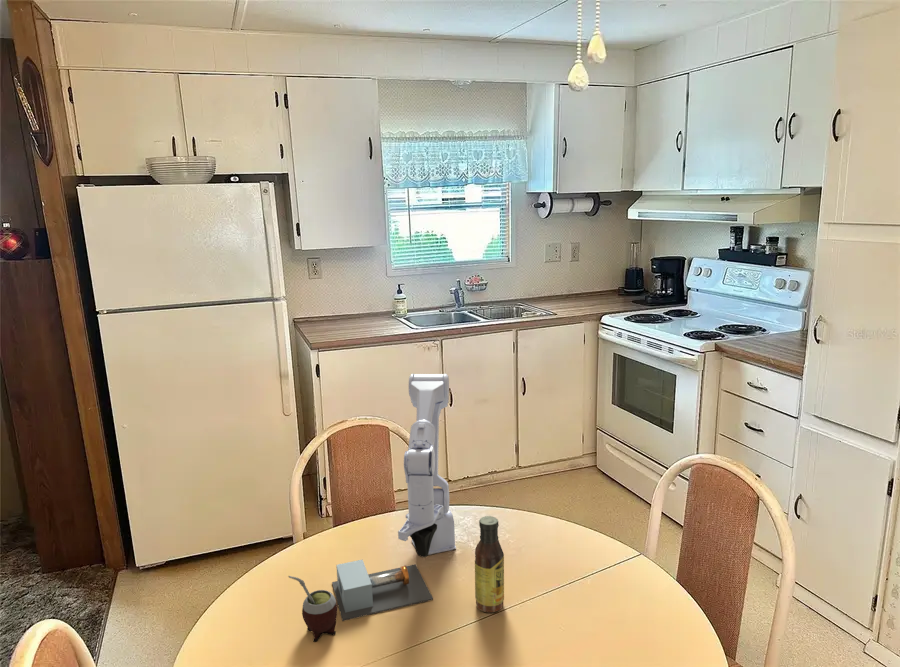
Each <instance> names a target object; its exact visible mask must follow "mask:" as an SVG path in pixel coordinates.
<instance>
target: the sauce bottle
mask: <svg viewBox="0 0 900 667" xmlns="http://www.w3.org/2000/svg"><path fill="white" fill-rule="evenodd" d="M478 524H479V525H478V526H479V529H480V531H479V533H480V535H479V541H478V543H477V544H476V546H475V549H474V550H475V551H474V559H475V560H474V595H475V604H476V607H477V609H479V611H482V612H484V613H490V614H491V613H496V612H498V611H500V610H501V609H502V608H503V607H504V600H505V554H504V551H503V548H502V546H501V543H500V541H499V534H498V533H499V530H498V529H499V526H500V525H499V519H498V518H497V517H495V516H491V515H486V516H482V517H480V519H479V520H478Z"/></svg>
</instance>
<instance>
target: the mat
mask: <svg viewBox="0 0 900 667" xmlns="http://www.w3.org/2000/svg"><path fill="white" fill-rule="evenodd" d="M405 566H406V567H407V570H408V575H409V584H406V585H403V583H402V582H398V583H393V584H389V585H385V586H380V587H376V588H372V597H373V606H372V607H368V608H363V609H359V610H355V611H350V612H346V613H345V610H344V606H343V603H342V599H341V596H340V592H339V588H338V581H337V580H335V581H332V582H331V584H332V585H331V586H332V588H333V592H334V595H335V596H334V597H335V599H336V602H337V606H338V610H339V613H340V618H341V621H342V622H345V621H348V620H349V621H350V620H354V619H358V618H362V617H365V616H370V615H374V614H379V613H384V612H387V611H392V610H396V609H400V608H403V607H408V606H413V605H417V604H421V603H425V602H430V601H434V596H433V595H432V594H431V593H432V592H431V591H430V589H429V587H428V585H427V583H426V582H425V580H424V578H423V576H422V574H421V572H420V570H419V568H418V566H417V564H410V565H409V564H408V565H405ZM396 571H400V567H396V568H391V569H387V570H382V571H377V572H372V573H368V575H369V577H373V576H377V575H382V574H386V573H391V572H396Z"/></svg>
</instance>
